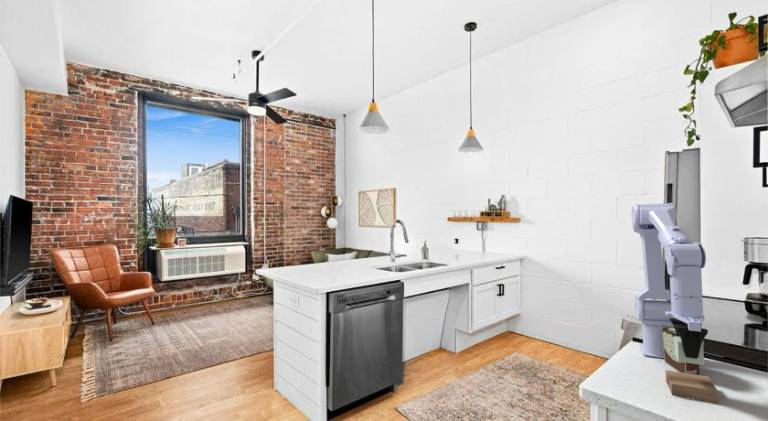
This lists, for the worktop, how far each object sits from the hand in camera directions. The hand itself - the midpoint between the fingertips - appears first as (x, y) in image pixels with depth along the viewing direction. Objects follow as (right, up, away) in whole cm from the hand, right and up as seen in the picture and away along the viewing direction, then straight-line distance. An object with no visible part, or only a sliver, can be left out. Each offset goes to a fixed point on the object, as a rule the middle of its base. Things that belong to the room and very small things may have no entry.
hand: (688, 353), depth 84 cm
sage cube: (0, -1, 0) cm, 1 cm away
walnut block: (0, -9, 0) cm, 9 cm away
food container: (+9, -9, +11) cm, 17 cm away
